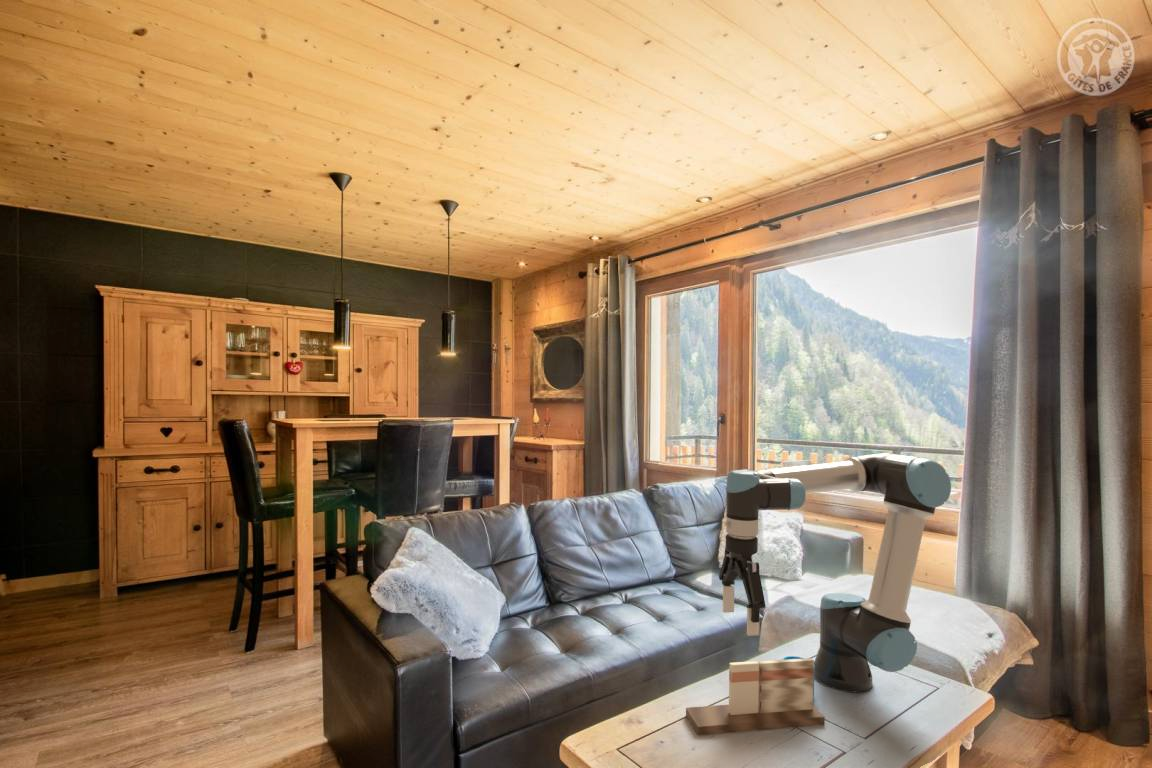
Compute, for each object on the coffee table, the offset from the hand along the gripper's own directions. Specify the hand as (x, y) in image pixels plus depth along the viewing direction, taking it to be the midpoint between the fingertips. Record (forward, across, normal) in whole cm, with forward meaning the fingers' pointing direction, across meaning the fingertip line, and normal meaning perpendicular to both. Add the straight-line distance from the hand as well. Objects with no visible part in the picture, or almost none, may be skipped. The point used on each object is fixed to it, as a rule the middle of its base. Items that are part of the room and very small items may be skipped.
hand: (740, 622), depth 139 cm
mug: (+24, -12, +21) cm, 34 cm away
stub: (+22, 0, +1) cm, 22 cm away
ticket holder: (+24, 0, +4) cm, 24 cm away
